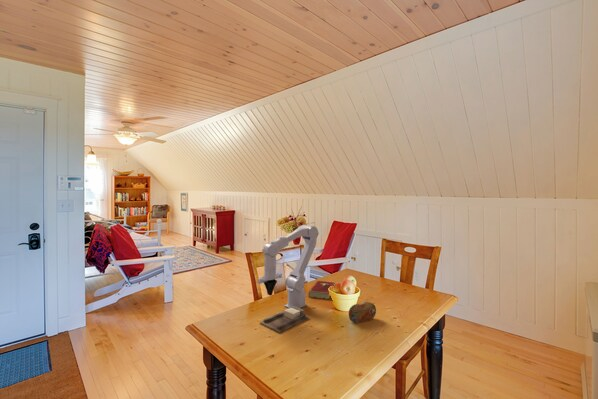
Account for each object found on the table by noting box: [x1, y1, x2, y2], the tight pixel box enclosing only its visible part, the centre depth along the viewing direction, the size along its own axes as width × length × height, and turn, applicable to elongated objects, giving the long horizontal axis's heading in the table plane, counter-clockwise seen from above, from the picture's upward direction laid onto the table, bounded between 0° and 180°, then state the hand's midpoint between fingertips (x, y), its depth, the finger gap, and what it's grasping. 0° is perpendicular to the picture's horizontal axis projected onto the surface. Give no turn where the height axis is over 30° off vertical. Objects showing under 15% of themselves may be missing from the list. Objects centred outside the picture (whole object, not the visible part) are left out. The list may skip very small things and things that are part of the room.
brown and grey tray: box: [259, 306, 310, 334], centre depth 138 cm, size 20×13×4 cm, turn 138°
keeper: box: [283, 308, 300, 319], centre depth 142 cm, size 5×6×3 cm
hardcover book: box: [308, 280, 336, 300], centre depth 178 cm, size 12×21×4 cm, turn 163°
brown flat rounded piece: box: [348, 301, 377, 325], centre depth 140 cm, size 15×3×8 cm, turn 117°
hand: (269, 294), depth 147 cm, fingers closed
